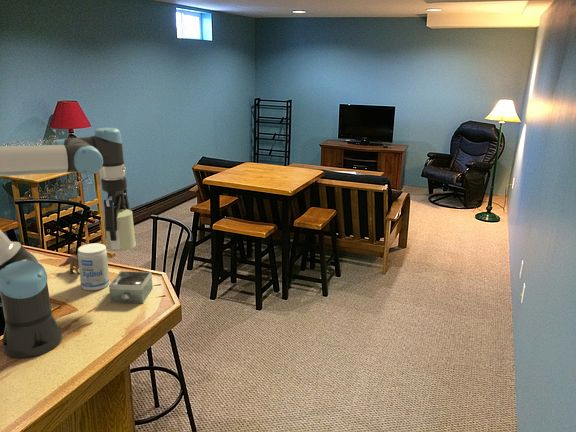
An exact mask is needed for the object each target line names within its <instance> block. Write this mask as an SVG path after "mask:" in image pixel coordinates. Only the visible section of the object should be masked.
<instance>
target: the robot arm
mask: <svg viewBox="0 0 576 432" xmlns="http://www.w3.org/2000/svg"><path fill="white" fill-rule="evenodd" d="M123 147H124V146H123V140H122V135H121V130H119V129H118V128H116V127H100V128H96V129H95V130H94V135H92V136H84V137H72V138H66V137H65V138H62V139H55V140H54V141H53V143H52V144H51V145H49V144H47V145H45V144H44V145H41V144H40V145H3V146H2V145H0V177H4V176H5V177H7V176H8V177H9V176H11V177H12V176H25V175H27V176H28V175H42V174H43V175H46V174H62V173H64V174H66V173H67V174H68V173H72V174H73V173H80V174H84V175H94V174H97V173H98V172H99V175H100V176H99V177H100V178H101V179H100V182H101V184H100V185H101V189H102V191H103V192H106V193H107V199H103V206H104V213H105V224H104V230H106V231H109V234H110V242H111V249H121V247H120V239H119V231H118V230H117V219H116V218H117V217H118V210H120V209H121V210H126V209H129V210H131V208H130V202H129V198H128V189H127V188H128V183H127V177H126V170H127V167H126V166H125V160H124V148H123ZM106 231H105V232H106ZM49 292H50V291H49V285H48V274H47V272H46V269H45V267H44V266H43V264H41V263H39V261H38V259H37V257H35V255H34V254H33V253H31V252H30V251H27V249H26V248H25V247H24V246H23V245H22V244H21V242H19V241H11V239H9V237H8V236H7V235H6V234H5V233H4V232H3V230H2V229H0V299H1V304H2V305H1V306H2V311H3V316H4V321H5V327H4V330H3V331H4V332H3V337H2V341H1V347H2V352H3V353H4V354H5V355H6V356H7V357H11V358H13V359H25V358H26V359H27V358H34V357H37V356H40V355H43V354H46V353H47V352H50V351H52V350H53V349H54V348H56V347H57V346H59V344H60V343H61V342H62V340H63V334H62V328H61V327H60V326H59V324H58V322H57V320H56V318H55V316H54V315H53V312H52V306H51V297H50V293H49Z"/></svg>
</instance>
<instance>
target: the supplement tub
mask: <svg viewBox="0 0 576 432" xmlns="http://www.w3.org/2000/svg"><path fill="white" fill-rule="evenodd" d="M77 254H78V255H77V256H78V261H79V269H78V272H79V273H80V274H79V278H80V287H81V288H82V289H84V290H86V291H100V290H103V289H104V288H106V287H107V286H109V284H110V275H109V264H108V252H107V245H105V244H103V243H95V242H94V243H87V244H83V245H81V246H79V247H78V248H77Z"/></svg>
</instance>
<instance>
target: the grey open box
mask: <svg viewBox="0 0 576 432" xmlns="http://www.w3.org/2000/svg"><path fill="white" fill-rule="evenodd" d="M152 274H153V273H152V271H129V270H128V271H127V270H125V271H124V270H120V271H119V272H118V274H117V275H116V276H115V277H114V279H112V280H111V282H109V284H108V289H109V297H110V303H115V304H116V303H123V304H144V303H145V302H146V300H147V298H148V296H149V295H150V293H151V292H152V291H153V277H152Z"/></svg>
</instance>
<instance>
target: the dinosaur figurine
mask: <svg viewBox="0 0 576 432" xmlns="http://www.w3.org/2000/svg"><path fill="white" fill-rule="evenodd" d="M68 265H69V275H73V274H76V275H79V276H80V271H79V261H78V253H77V254H71V255H70V256H68V257H67V258H66V260H65V261H64V262H63V263H61V264H59V265H58V267H66V266H68ZM74 271H75V272H76V273H75V272H74Z"/></svg>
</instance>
